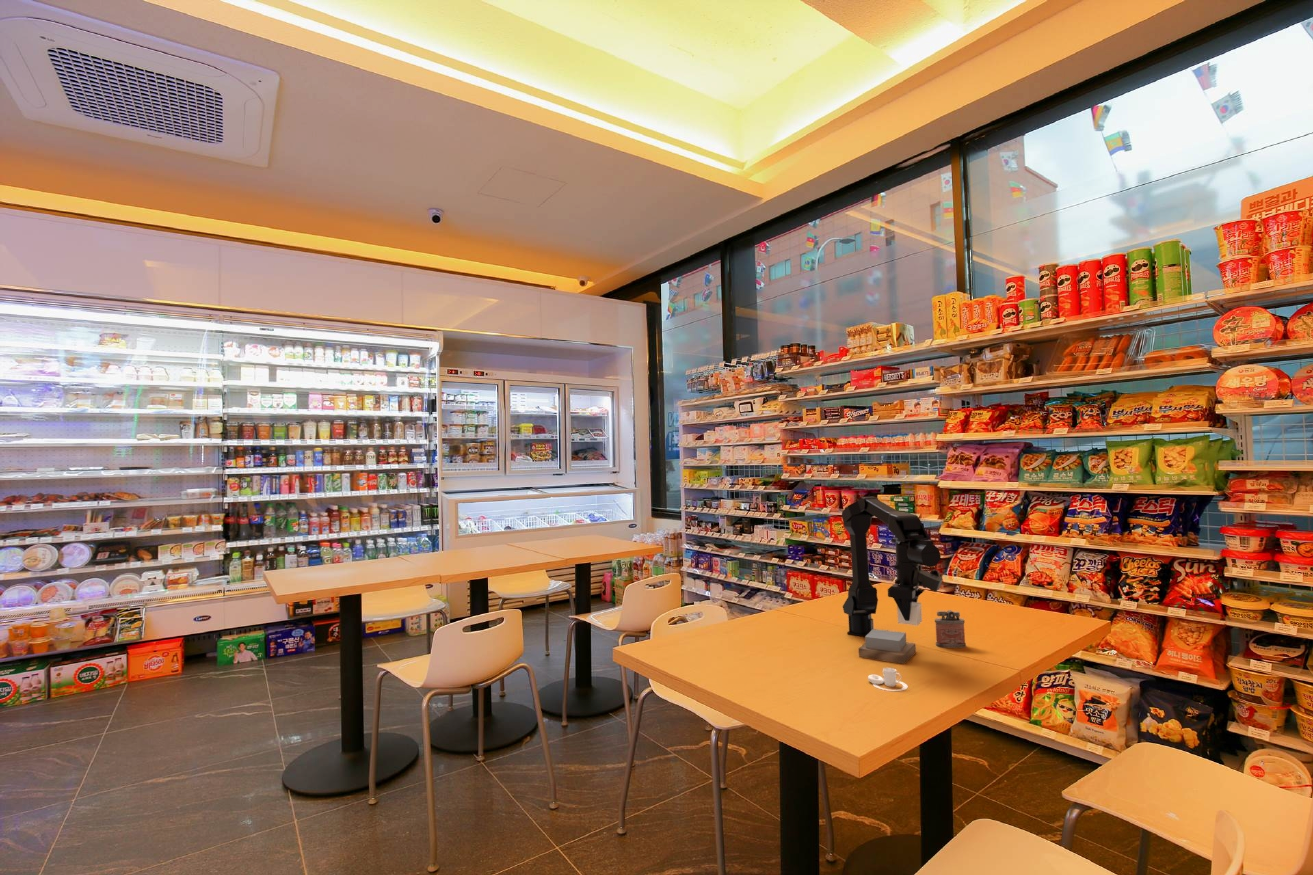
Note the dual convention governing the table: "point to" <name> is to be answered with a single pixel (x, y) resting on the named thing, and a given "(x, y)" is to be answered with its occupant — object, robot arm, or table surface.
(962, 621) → the lighter
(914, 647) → the base block
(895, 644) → the top block
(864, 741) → the table surface
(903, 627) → the table surface
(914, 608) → the cube
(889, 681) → the teacup and saucer
